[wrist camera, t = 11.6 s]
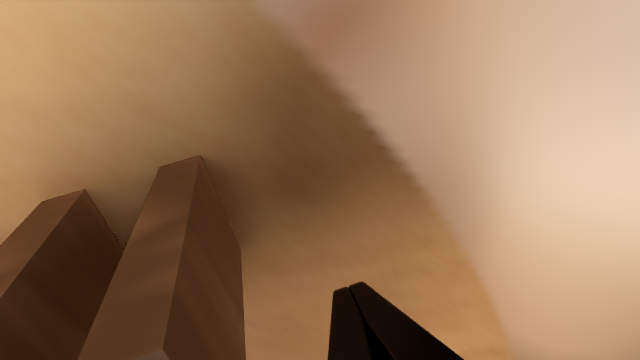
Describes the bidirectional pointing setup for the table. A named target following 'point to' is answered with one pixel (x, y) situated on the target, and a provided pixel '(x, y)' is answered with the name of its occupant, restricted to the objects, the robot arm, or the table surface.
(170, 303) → the domino
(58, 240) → the domino
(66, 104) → the table surface
